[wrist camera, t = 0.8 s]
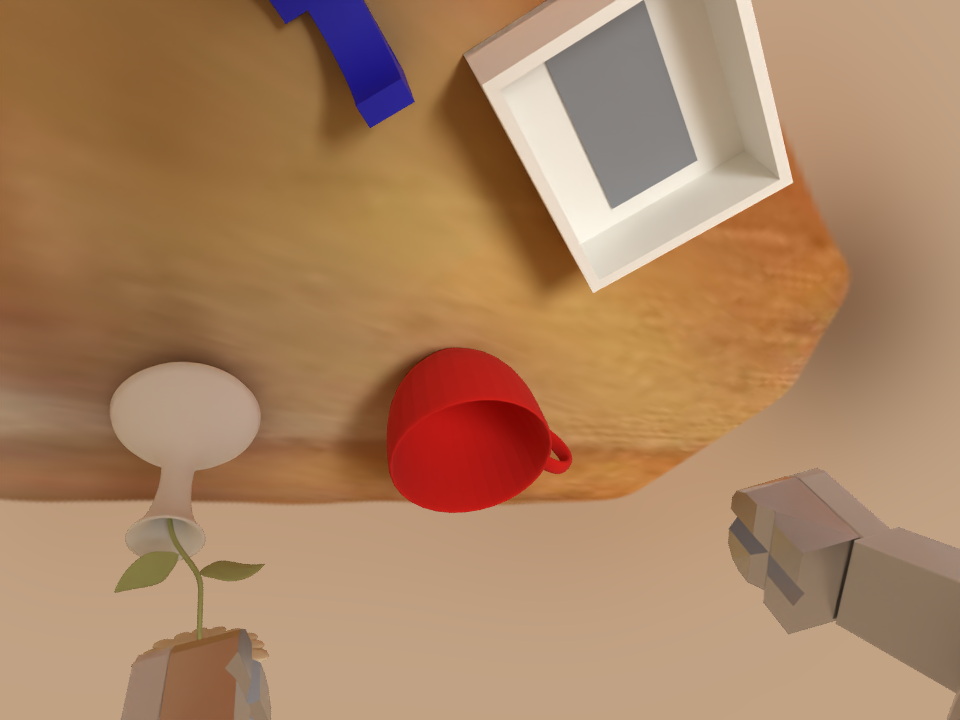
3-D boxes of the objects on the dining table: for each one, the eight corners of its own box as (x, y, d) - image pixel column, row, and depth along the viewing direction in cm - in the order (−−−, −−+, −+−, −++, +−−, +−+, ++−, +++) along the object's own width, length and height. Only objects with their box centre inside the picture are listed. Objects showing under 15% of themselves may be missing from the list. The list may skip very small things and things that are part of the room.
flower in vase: (100, 434, 58) (3, 750, 39) (132, 332, 52) (37, 642, 33) (256, 465, 64) (238, 753, 45) (300, 376, 58) (299, 661, 39)
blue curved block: (217, -89, 37) (206, -71, 33) (287, -136, 37) (285, -124, 32) (343, 105, 45) (348, 141, 40) (402, 69, 44) (414, 101, 40)
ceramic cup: (513, 449, 69) (539, 530, 62) (354, 411, 62) (362, 498, 54) (583, 353, 63) (622, 431, 55) (416, 298, 55) (434, 379, 48)
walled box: (686, -90, 41) (733, -74, 37) (750, 148, 53) (792, 182, 48) (463, 54, 44) (481, 85, 40) (569, 251, 55) (593, 293, 51)
